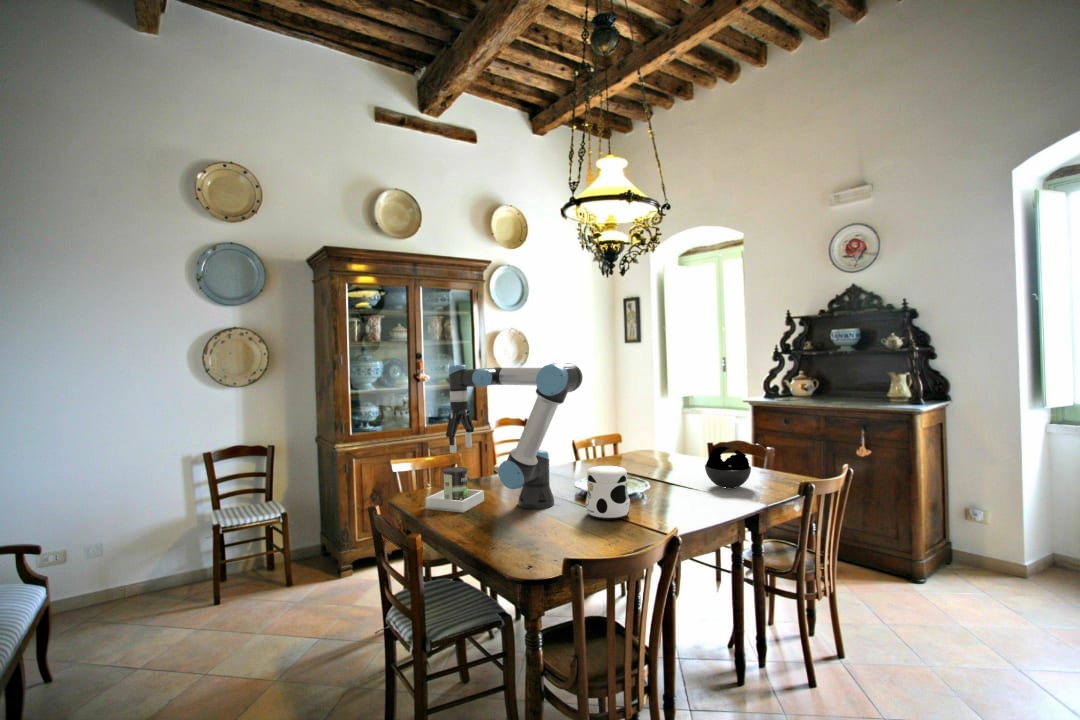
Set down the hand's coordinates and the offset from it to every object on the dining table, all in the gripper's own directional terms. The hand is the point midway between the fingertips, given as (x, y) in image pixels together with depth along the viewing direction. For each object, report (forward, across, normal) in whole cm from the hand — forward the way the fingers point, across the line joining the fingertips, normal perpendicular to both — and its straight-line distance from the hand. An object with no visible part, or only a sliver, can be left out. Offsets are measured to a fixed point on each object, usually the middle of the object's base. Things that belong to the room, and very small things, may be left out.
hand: (461, 450), depth 231 cm
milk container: (+25, -1, +63) cm, 68 cm away
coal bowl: (+26, -56, +106) cm, 123 cm away
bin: (+23, +2, -3) cm, 23 cm away
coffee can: (+22, +2, -3) cm, 23 cm away
